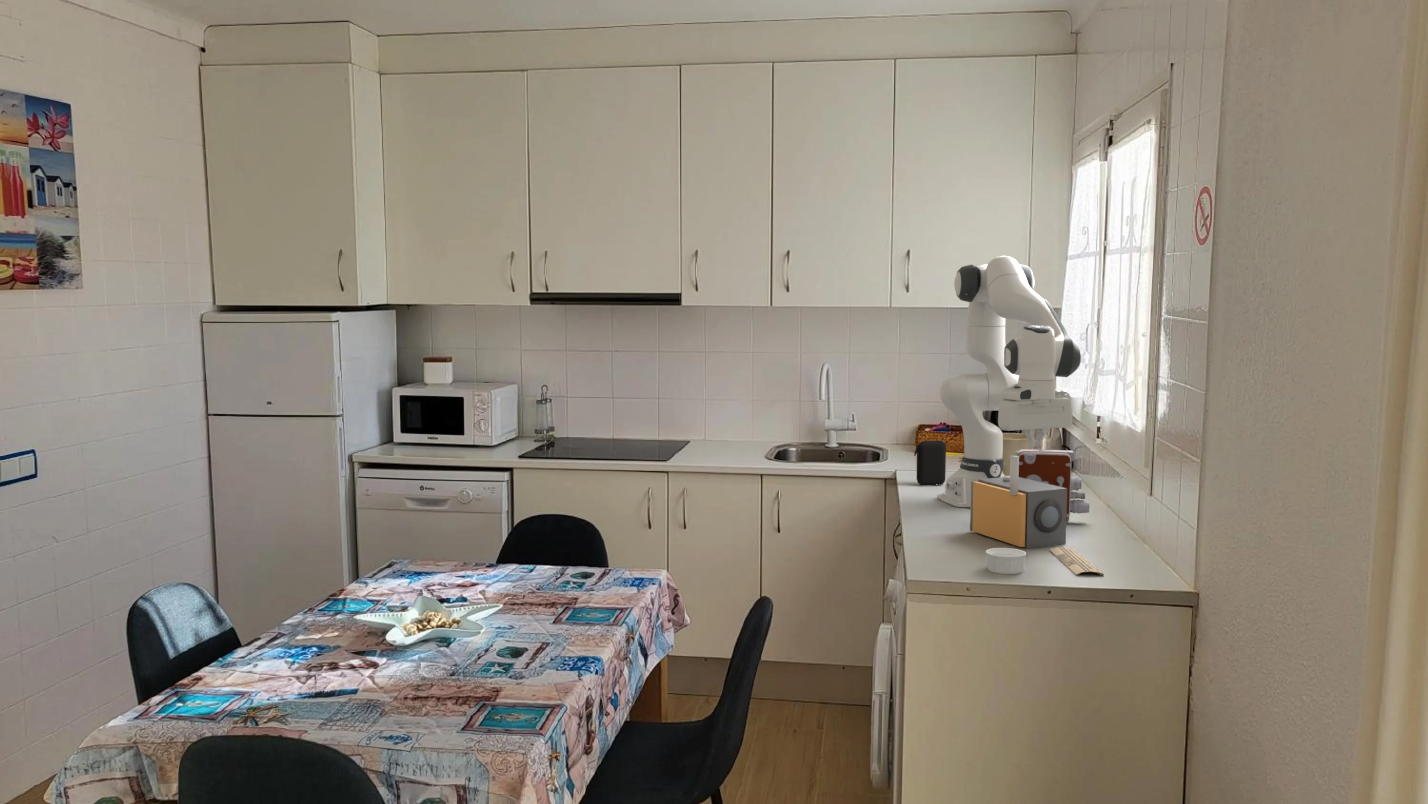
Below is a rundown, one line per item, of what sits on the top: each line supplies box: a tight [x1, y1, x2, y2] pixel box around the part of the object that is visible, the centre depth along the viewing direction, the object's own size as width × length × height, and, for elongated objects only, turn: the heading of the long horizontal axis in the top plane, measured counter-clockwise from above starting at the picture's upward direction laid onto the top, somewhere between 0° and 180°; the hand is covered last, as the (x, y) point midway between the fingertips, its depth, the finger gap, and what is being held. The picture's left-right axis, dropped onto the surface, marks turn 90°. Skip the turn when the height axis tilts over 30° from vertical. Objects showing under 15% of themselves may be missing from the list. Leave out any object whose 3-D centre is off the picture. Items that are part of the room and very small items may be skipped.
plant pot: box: [1002, 432, 1033, 476], centre depth 352 cm, size 15×15×16 cm
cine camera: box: [1016, 448, 1090, 525], centre depth 292 cm, size 9×19×20 cm, turn 78°
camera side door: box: [969, 456, 1026, 548], centre depth 270 cm, size 21×2×22 cm, turn 23°
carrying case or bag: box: [913, 440, 947, 486], centre depth 350 cm, size 11×3×15 cm, turn 99°
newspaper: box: [1049, 546, 1105, 577], centre depth 248 cm, size 24×7×2 cm, turn 177°
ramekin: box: [985, 547, 1027, 575], centre depth 242 cm, size 9×9×4 cm
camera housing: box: [978, 476, 1067, 549], centre depth 273 cm, size 21×12×15 cm, turn 23°
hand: (1035, 447), depth 264 cm, fingers closed
